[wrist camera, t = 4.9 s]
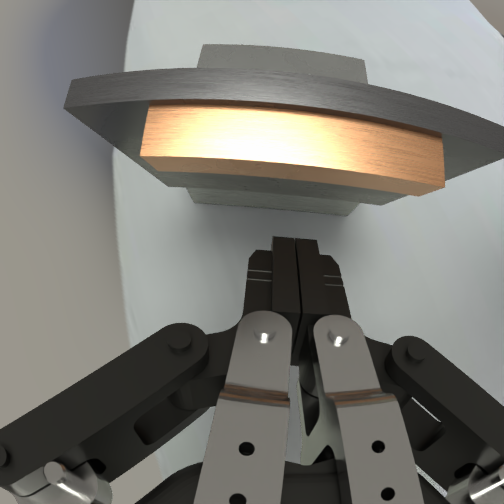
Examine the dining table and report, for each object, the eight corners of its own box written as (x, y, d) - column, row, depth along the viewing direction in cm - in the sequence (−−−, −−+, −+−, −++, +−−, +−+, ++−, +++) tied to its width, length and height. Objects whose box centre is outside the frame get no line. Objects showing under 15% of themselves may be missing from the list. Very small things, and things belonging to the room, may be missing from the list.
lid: (506, 127, 9) (513, 200, 9) (381, 190, 23) (380, 228, 23) (71, 79, 9) (52, 155, 9) (170, 171, 24) (165, 209, 24)
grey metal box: (343, 107, 35) (364, 59, 26) (347, 216, 32) (378, 184, 24) (212, 95, 35) (203, 44, 26) (194, 202, 33) (174, 165, 24)
